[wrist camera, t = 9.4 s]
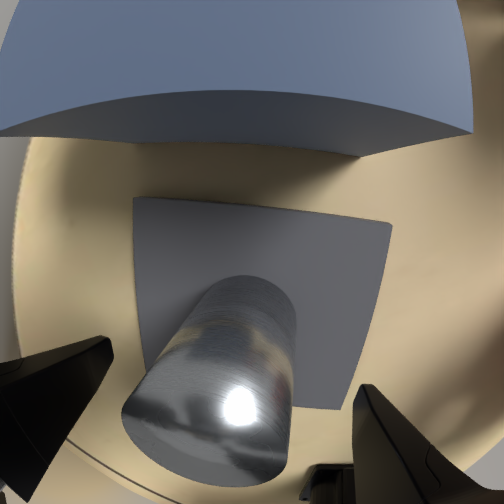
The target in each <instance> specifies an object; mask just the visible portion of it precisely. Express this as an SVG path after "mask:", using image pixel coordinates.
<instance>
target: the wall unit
mask: <svg viewBox="0 0 504 504" xmlns="http://www.w3.org/2000/svg"><path fill="white" fill-rule="evenodd" d="M472 133H473V99H472V85H471V75H470V66H469V59H468V52H467V46H466V40H465V35H464V30H463V25H462V21H461V17H460V12H459V9H458V5H457V1H456V0H19V3H18V5H17V7H16V9H15V12H14V14H13V17H12V19H11V22H10V25H9V27H8V30H7V33H6V36H5V38H4V42H3V44H2V48H1V51H0V137H61V138H79V139H93V140H105V141H116V142H126V143H155V142H217V143H241V144H257V145H271V146H282V147H292V148H302V149H310V150H318V151H326V152H333V153H340V154H347V155H353V156H359V157H364V156H368V155H372V154H376V153H380V152H384V151H388V150H393V149H397V148H401V147H406V146H410V145H415V144H420V143H424V142H429V141H434V140H439V139H444V138H450V137H455V136H461V135H466V134H472Z"/></svg>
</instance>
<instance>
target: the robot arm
mask: <svg viewBox="0 0 504 504" xmlns="http://www.w3.org/2000/svg"><path fill="white" fill-rule="evenodd" d="M113 359H114V354H113V349H112V344H111V340H110V339H109V338H108V337H105V336H102V335H99V336H96V337H93V338H89V339H86V340H83V341H79V342H76V343H73V344H69V345H66V346H62V347H59V348H56V349H52V350H49V351H45V352H42V353H38V354H35V355H31V356H27V357H24V358H20V359H16V360H12V361H8V362H3V363H0V504H7V503H6V498H5V494H4V492H2V490H3V488H4V487H5V486H6V485H7V486H8V487H9V488H10V489H12V490H13V491H14V492H15V493H16V494H18V496H19V497H21V498H22V499H23V500H24V501H25V502H27V503H28V502H29V500H30V499H31V497H32V495H33V493H34V491H35V489H36V488H37V486H38V484H39V483H40V481H41V479H42V477H43V476H44V474H45V472H46V471H47V469H48V467H49V465H50V464H51V462H52V460H53V459H54V457H55V455H56V454H57V452H58V451H59V449H60V447H61V445H62V444H63V442H64V441H65V439H66V438H67V436H68V434H69V433H70V431H71V430H72V428H73V427H74V425H75V423H76V422H77V420H78V419H79V417H80V416H81V414H82V413H83V411H84V410H85V408H86V407H87V405H88V404H89V402H90V401H91V399H92V398H93V396H94V395H95V393H96V391H97V390H98V388H99V386H100V384H101V382H102V381H103V379H104V377H105V375H106V373H107V371H108V369H109V367H110V365H111V364H112V362H113ZM352 450H353V462H354V465H319V466H316V467H315V468H314V470H313V472H312V474H311V476H310V478H309V480H308V481H307V483H306V485H305V487H304V488H303V490H302V492H301V494H300V496H299V500H301V501H310V504H504V490H491V489H487V488H484V487H482V486H480V485H479V484H478V483H476V482H475V481H474V480H472V479H471V478H470V477H469V476H467V475H466V474H465V473H463V472H462V471H461V470H460V469H458V468H457V467H456V466H455V465H453V464H452V463H451V462H450V461H449V460H448V459H446V458H445V457H444V456H443V455H442V454H441V453H440V452H439V451H438V450H437V449H436V448H435V447H434V446H433V445H432V444H431V445H430V442H429V441H428V440H427V439H426V438H425V437H424V436H423V435H422V434H421V433H420V432H419V431H418V430H417V429H416V428H415V427H414V426H413V425H412V424H411V423H410V422H409V421H408V420H407V419H406V418H405V417H404V416H403V415H402V414H401V413H400V412H399V411H398V409H397V408H396V407H395V406H394V405H393V404H392V403H391V402H390V401H389V400H388V399H387V398H386V397H385V396H384V395H383V394H382V393H381V392H380V391H379V390H378V389H377V388H376V387H375V386H374V385H372V384H362V385H361V386H360V387H359V389H358V392H357V394H356V397H355V399H354V402H353V423H352Z"/></svg>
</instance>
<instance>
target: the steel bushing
mask: <svg viewBox="0 0 504 504" xmlns="http://www.w3.org/2000/svg"><path fill="white" fill-rule="evenodd" d="M296 332H297V317H296V312H295V309H294V306H293V304H292V302H291V300H290V299H289V298H288V296H287V295H286V294H285V293H284V292H283V291H282V290H281V289H280V288H279V287H278V286H276V285H275V284H273V283H271V282H269V281H267V280H265V279H262V278H259V277H255V276H250V275H237V276H231V277H228V278H225V279H222V280H220V281H218V282H217V283H215V284H214V285H213V286H212V287H211V288H209V290H208V291H207V292H206V293H205V295H204V296H203V297H202V299H201V300H200V301H199V303H198V304H197V305H196V307H195V308H194V309H193V311H192V312H191V313H190V315H189V316H188V317H187V319H186V320H185V321H184V323H183V324H182V326H181V327H180V328H179V330H178V331H177V332H176V334H175V335H174V336H173V338H172V339H171V340H170V342H169V343H168V344H167V346H166V347H165V348H164V350H163V351H162V353H161V354H160V355H159V357H158V358H157V359H156V361H155V362H154V363H153V365H152V366H151V368H150V369H149V370H148V372H147V373H146V374H145V376H144V377H143V379H142V380H141V381H140V383H139V384H138V385H137V387H136V388H135V389H134V391H133V392H132V394H131V395H130V396H129V398H128V399H127V401H126V402H125V403H124V405H123V408H122V413H121V416H122V422H123V426H124V428H125V430H126V432H127V434H128V435H129V437H130V438H131V440H132V441H133V442H134V444H135V445H136V446H137V447H138V448H139V449H140V450H141V451H142V452H143V453H144V454H145V455H147V456H148V457H149V458H150V459H152V460H153V461H155V462H156V463H158V464H159V465H161V466H162V467H164V468H166V469H167V470H169V471H171V472H173V473H175V474H178V475H180V476H182V477H185V478H188V479H190V480H193V481H197V482H200V483H204V484H209V485H214V486H222V487H248V486H254V485H258V484H262V483H265V482H268V481H270V480H272V479H274V478H275V477H277V476H278V475H279V474H280V473H281V472H282V471H283V470H284V468H285V466H286V463H287V458H288V448H289V438H290V427H291V415H292V402H293V388H294V372H295V354H296Z"/></svg>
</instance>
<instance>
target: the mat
mask: <svg viewBox="0 0 504 504" xmlns="http://www.w3.org/2000/svg"><path fill="white" fill-rule="evenodd" d="M392 226H393V225H391V224H390V223H387V222H381V221H375V220H368V219H361V218H354V217H348V216H340V215H333V214H326V213H318V212H310V211H302V210H293V209H285V208H276V207H267V206H257V205H247V204H237V203H226V202H214V201H202V200H188V199H174V198H158V197H135V198H133V244H134V268H135V283H136V296H137V307H138V317H139V326H140V334H141V342H142V349H143V356H144V362H145V368H146V373H147V372H148V370H149V369H150V368H151V366H152V365H153V363H154V362H155V361H156V359H157V358H158V357H159V355H160V354H161V353H162V351H163V350H164V348H165V347H166V346H167V344H168V343H169V342H170V340H171V339H172V338H173V336H174V335H175V334H176V332H177V331H178V330H179V328H180V327H181V326H182V324H183V323H184V321H185V320H186V319H187V317H188V316H189V315H190V313H191V312H192V311H193V309H194V308H195V307H196V305H197V304H198V303H199V301H200V300H201V299H202V297H203V296H204V295H205V293H206V292H207V291H208V290H209V288H211V287H212V286H213V285H214V284H215V283H217V282H218V281H220V280H222V279H225V278H228V277H231V276H237V275H250V276H255V277H259V278H262V279H265V280H267V281H269V282H271V283H273V284H275V285H276V286H278V287H279V288H280V289H281V290H282V291H283V292H284V293H285V294H286V295H287V296H288V298H289V299H290V300H291V302H292V304H293V306H294V309H295V312H296V317H297V332H296V354H295V372H294V388H293V402H292V406H295V407H305V408H316V409H331V410H340V409H341V407H342V404H343V402H344V399H345V397H346V394H347V392H348V389H349V386H350V384H351V381H352V378H353V376H354V373H355V370H356V367H357V364H358V361H359V358H360V355H361V352H362V349H363V346H364V343H365V340H366V337H367V333H368V330H369V326H370V323H371V320H372V316H373V312H374V309H375V305H376V301H377V297H378V293H379V289H380V285H381V281H382V277H383V272H384V268H385V263H386V258H387V253H388V248H389V243H390V237H391V232H392Z"/></svg>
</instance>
